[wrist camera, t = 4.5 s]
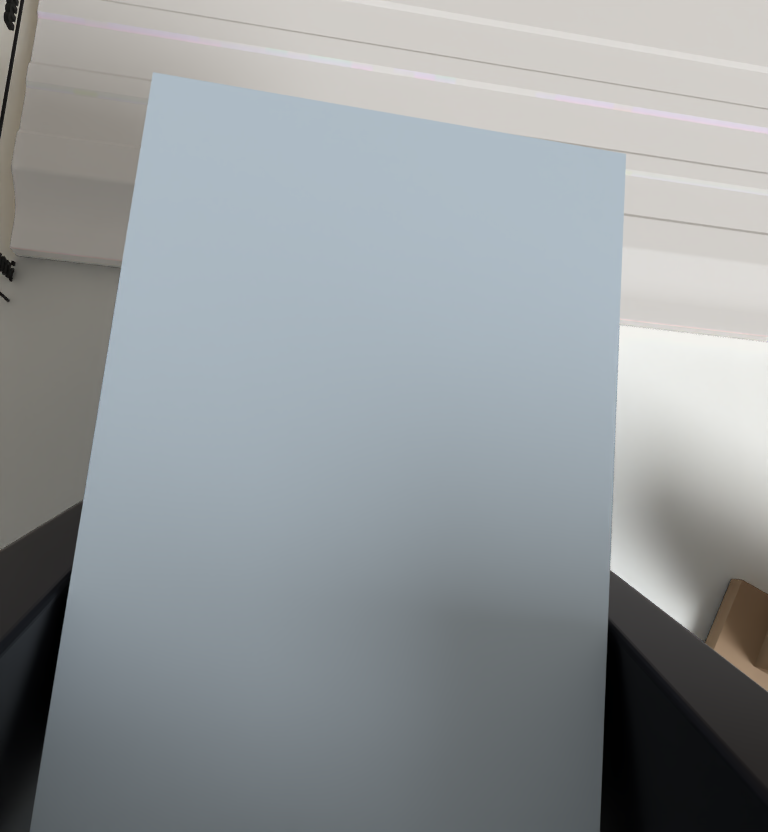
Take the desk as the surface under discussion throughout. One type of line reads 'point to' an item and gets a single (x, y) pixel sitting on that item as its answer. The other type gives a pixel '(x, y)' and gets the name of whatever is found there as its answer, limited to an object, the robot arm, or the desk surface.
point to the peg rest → (743, 630)
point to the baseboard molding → (435, 115)
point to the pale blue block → (345, 482)
